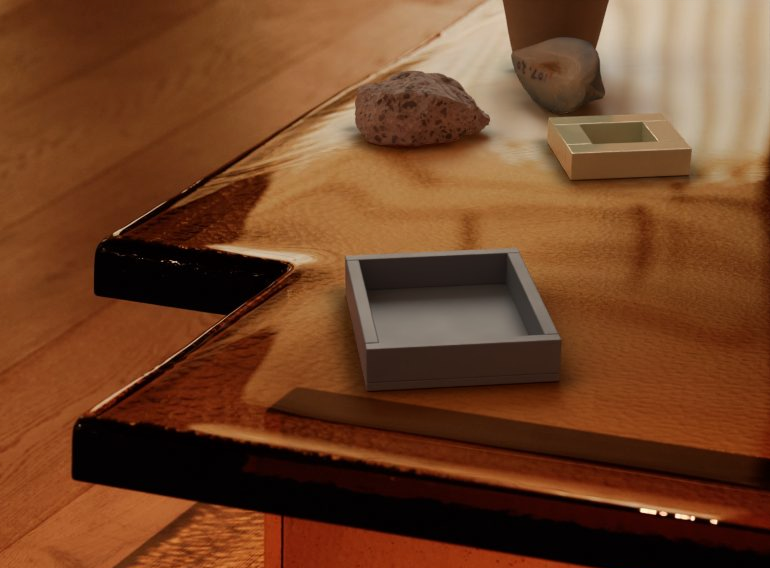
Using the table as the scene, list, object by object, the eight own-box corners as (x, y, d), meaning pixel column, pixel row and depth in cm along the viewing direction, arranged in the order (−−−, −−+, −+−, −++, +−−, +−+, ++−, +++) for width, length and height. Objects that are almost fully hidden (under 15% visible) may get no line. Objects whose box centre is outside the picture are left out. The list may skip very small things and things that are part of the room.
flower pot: (499, 48, 147) (503, -66, 142) (623, 55, 145) (632, -61, 140) (475, 82, 138) (478, -39, 133) (607, 90, 135) (616, -33, 130)
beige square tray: (689, 175, 117) (692, 148, 116) (570, 180, 116) (571, 153, 115) (659, 138, 124) (661, 112, 123) (546, 142, 123) (548, 117, 122)
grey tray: (559, 381, 88) (562, 339, 86) (366, 391, 87) (365, 349, 86) (516, 285, 99) (517, 247, 98) (345, 293, 98) (344, 255, 97)
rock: (369, 110, 131) (368, 60, 129) (499, 120, 128) (500, 69, 126) (337, 144, 124) (336, 91, 122) (474, 155, 121) (475, 101, 119)
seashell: (527, 47, 137) (499, 5, 127) (628, 72, 134) (608, 30, 124) (503, 118, 137) (473, 81, 127) (603, 144, 134) (581, 108, 125)
